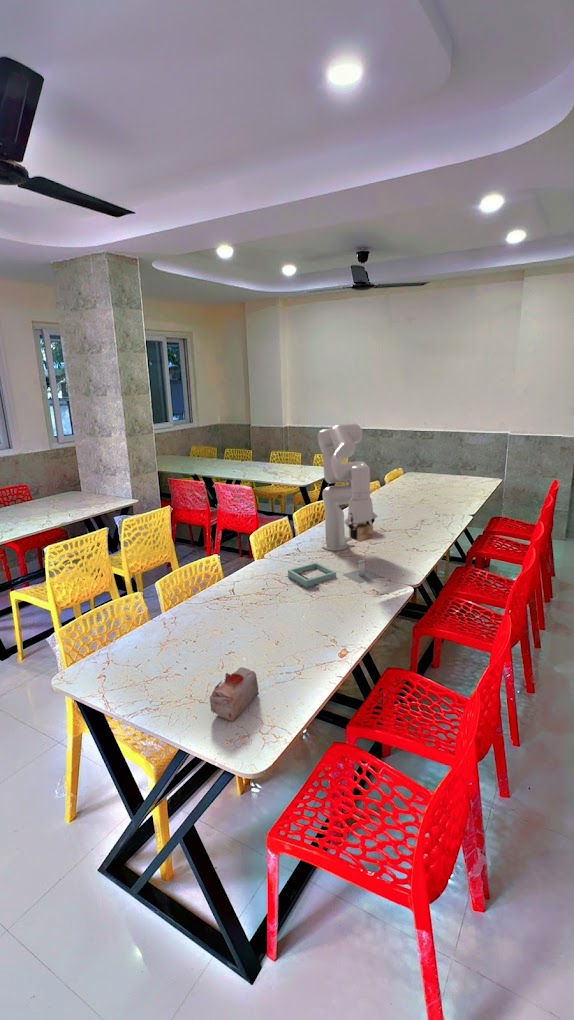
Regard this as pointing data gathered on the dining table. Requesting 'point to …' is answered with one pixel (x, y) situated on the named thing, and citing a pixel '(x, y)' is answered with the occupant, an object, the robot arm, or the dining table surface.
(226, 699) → the food item
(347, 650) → the dining table surface
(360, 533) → the oak collar
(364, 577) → the stake stand
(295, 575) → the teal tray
